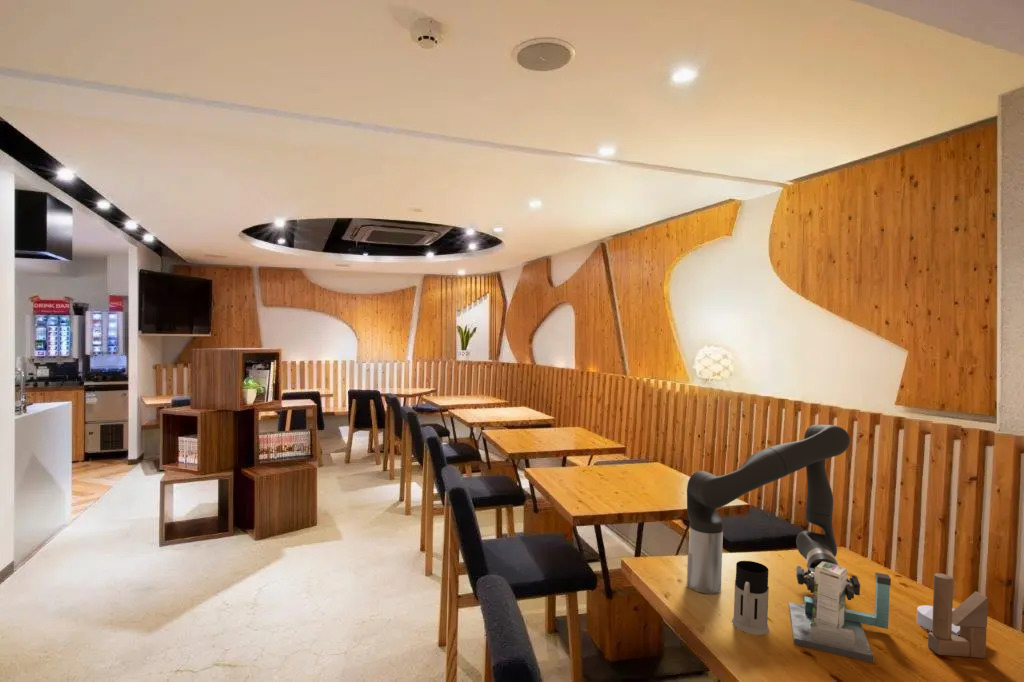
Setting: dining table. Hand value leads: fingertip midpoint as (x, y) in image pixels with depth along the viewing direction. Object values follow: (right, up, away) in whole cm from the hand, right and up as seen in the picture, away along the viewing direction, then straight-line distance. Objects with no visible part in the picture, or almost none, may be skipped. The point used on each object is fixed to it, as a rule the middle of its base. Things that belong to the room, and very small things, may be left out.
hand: (831, 592), depth 132 cm
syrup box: (+1, -9, +2) cm, 9 cm away
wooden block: (+27, -13, -4) cm, 31 cm away
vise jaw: (+8, -10, +8) cm, 15 cm away
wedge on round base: (+33, -13, +6) cm, 36 cm away
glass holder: (-18, -11, +4) cm, 22 cm away
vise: (+1, -12, +4) cm, 12 cm away
